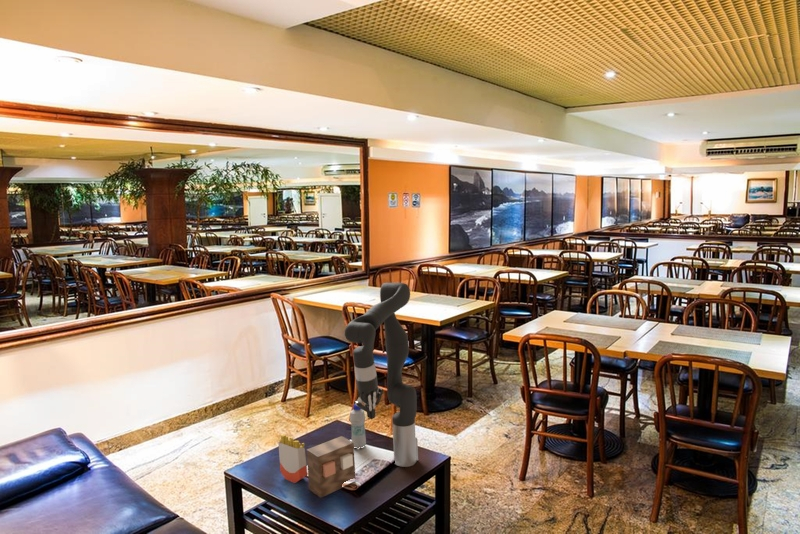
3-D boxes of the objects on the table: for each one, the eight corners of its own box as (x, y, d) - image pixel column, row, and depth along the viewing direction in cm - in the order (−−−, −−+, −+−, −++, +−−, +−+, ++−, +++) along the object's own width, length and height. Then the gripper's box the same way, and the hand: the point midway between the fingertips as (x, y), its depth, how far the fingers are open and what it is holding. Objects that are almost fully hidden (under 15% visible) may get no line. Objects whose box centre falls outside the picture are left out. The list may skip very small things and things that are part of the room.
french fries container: (289, 472, 214) (286, 430, 211) (308, 479, 207) (305, 436, 205) (280, 477, 210) (277, 434, 208) (299, 485, 204) (296, 441, 201)
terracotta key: (329, 469, 199) (329, 458, 199) (335, 473, 196) (334, 462, 196) (319, 473, 197) (319, 462, 196) (325, 477, 194) (324, 466, 193)
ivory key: (346, 462, 205) (346, 451, 204) (353, 465, 202) (352, 454, 201) (337, 466, 202) (336, 455, 201) (343, 469, 199) (342, 458, 198)
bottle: (369, 447, 233) (367, 403, 230) (357, 452, 228) (355, 408, 226) (360, 442, 238) (358, 399, 235) (348, 447, 233) (346, 404, 231)
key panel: (343, 474, 211) (341, 436, 209) (355, 481, 205) (353, 442, 203) (309, 489, 200) (306, 449, 198) (320, 497, 194) (317, 456, 192)
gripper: (372, 365, 194) (377, 406, 199) (344, 380, 185) (351, 422, 190) (386, 370, 189) (391, 412, 194) (358, 386, 180) (365, 430, 185)
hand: (371, 417), depth 192 cm, fingers closed
